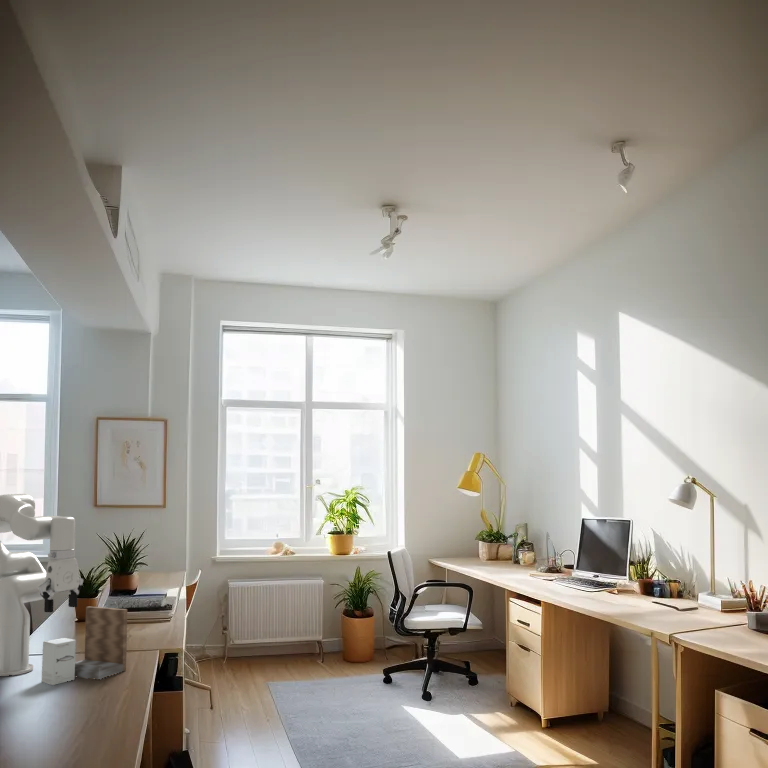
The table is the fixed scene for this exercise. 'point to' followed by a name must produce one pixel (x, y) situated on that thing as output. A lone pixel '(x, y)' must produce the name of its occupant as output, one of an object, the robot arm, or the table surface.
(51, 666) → the supplement box
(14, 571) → the robot arm
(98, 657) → the bookend
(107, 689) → the table surface
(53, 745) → the table surface
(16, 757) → the table surface
